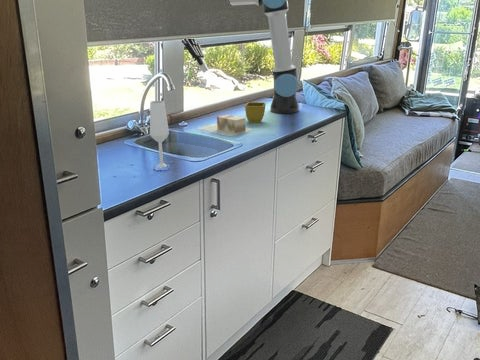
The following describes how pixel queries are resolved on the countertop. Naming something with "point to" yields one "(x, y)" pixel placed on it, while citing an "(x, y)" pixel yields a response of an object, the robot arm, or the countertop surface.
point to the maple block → (231, 123)
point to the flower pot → (255, 111)
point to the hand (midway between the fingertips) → (205, 70)
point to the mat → (214, 129)
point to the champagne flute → (158, 126)
